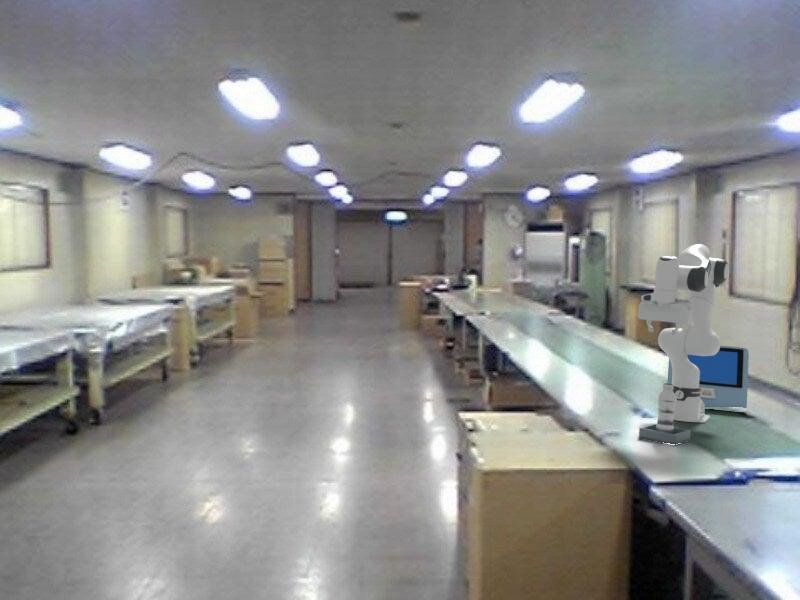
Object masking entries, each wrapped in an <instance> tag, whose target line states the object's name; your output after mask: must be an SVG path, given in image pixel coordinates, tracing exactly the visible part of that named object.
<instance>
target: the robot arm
mask: <svg viewBox="0 0 800 600" xmlns="http://www.w3.org/2000/svg"><path fill="white" fill-rule="evenodd" d="M655 267H656V268H655V274H654V281H655V285H654V288H653V292H651V293H648V294H642V295H641V297H640V300H641V302H640V303H639V305H638V310H637V318H638V320H645V323H646V325H647V327H648V332H650V333H654V331H655V327H654V326H652V324H651V323H653V322H654V321H655V322H665V323H673V324H674V323H675V324H674V325H675V327H669V328H666V327H665V328H663V329H662V330H661V331H660V333H659V334H658V337H657V343H658V346H659V347H660V349H661V350H662V351H663V352H664V353H665V354H666V355H667V356H668V360H669V359H670V361H671V364H672V384H673V385H674V386H673V388H674V389H673V392H674V394H675V395H676V398H677V400H676V405H675V409H674V416H673V421H679V422H684V423H685V422H686V423H700V424H701V423H702V424H704V423H706V422H708V421H709V419H710V418H711V415H709V414H705V412H706V410H705V404H704V403H703V401H702V400H701V398H700V392H702V388H699V380H700V370H699V368H698V367H697V366H696V365H694V364H693V363H691V362H690V361H689V359H688V356H687V355H696V356H714V355H715V354H717V352H718V351H719V349H720V346H722V342H721V339H720V337H719V335H718V334H717V333H716V332H715V331H714V330H713V329H712V326H711V324H710V320H711V319H710V318H711V313H712V308H713V306H714V299H715V288H718V287H720V285H721V284H724V282H726V281H727V279H728V277H729V274H730V266H729V263H728V261H727V260H725V259H723V258H719V257H718V258H715V257H711V250H710V249H709V248H708V246H707V245H705V244H702V243H701V244H700V243H695V244H692V245H690V246H688V247H686V248H685V249H683V250H682V251H681V252H680V254H679V255H678V257H677V256H673V255H667V256H666V255H665V256H663V255H662V256H659V257H658V259H657V262H656V266H655ZM679 291H689V292H688V294H687V297H686V299H683V298H681V299H680V298H678V295H679ZM682 324H683V325H685V324H686V325H690V326H691V327H692V328H682V327H681V326H682Z"/></svg>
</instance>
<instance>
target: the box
mask: <svg viewBox="0 0 800 600" xmlns="http://www.w3.org/2000/svg"><path fill="white" fill-rule="evenodd" d="M656 424H657V423H652V424H648V425H645V426H641V427H639V428H638V431H639V432H638V439H639V438H640V440H643V439H645V440H644V441H648V440H651V441H650V442H653V441H657V442H656V443H658V442H664V443H670V444H675V445H676V444H678V443H682V442H685V443H687V442H686V441H688V442H690V441H691V432H692V431H691V429H685V428H680V427H675V426H674V433H673V434H670V433H665V432H660V431H656V430H655V428H656ZM682 444H683V443H682Z"/></svg>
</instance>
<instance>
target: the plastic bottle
mask: <svg viewBox="0 0 800 600" xmlns="http://www.w3.org/2000/svg"><path fill="white" fill-rule="evenodd" d="M673 386H674V385H673V384H669V383H667V382H663V383H662V391H661V392H660V393H659V395H658V398H657V399H658V401H657V402H658V416H657V421H656V422H657V423H655V424H656V428H655V430H656V431H660V432H665V433H670V434H673V433H674V427H675V426H674V425H675V424H674V420H673V416H674V409H675V405H676V400H677V398H676V395H675V394H674V392H673V389H674V388H673Z"/></svg>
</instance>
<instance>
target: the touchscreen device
mask: <svg viewBox="0 0 800 600" xmlns="http://www.w3.org/2000/svg"><path fill="white" fill-rule="evenodd" d="M687 356H688V359H689V361H690V362H691V363H693V364H694V365H696V366H697V367H698V368H699V370H700V380H699V388H702V392H700V398H701V400H702V401H703V403H704V404H705V407H743V408H748V407H747V406H748V385H749V384H748V383H749V349H748V348H746V347H740V346H727V345H721V346H720V349H719V351H718V352H717V354H715V355H714V356H696V355H687ZM667 366H668V367H667V369H668V370H667V381H666V383H669V384H672V364H671V361H670V359H669V358H668V365H667Z"/></svg>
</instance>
